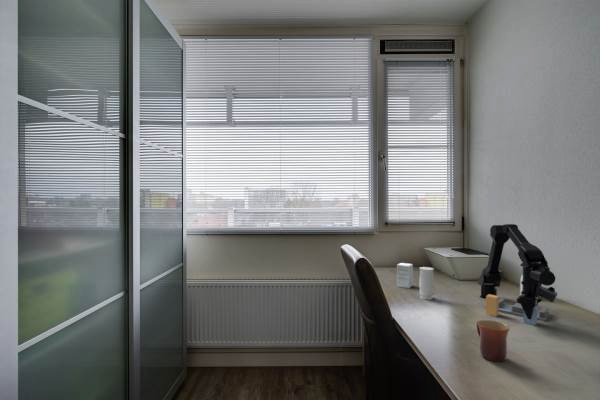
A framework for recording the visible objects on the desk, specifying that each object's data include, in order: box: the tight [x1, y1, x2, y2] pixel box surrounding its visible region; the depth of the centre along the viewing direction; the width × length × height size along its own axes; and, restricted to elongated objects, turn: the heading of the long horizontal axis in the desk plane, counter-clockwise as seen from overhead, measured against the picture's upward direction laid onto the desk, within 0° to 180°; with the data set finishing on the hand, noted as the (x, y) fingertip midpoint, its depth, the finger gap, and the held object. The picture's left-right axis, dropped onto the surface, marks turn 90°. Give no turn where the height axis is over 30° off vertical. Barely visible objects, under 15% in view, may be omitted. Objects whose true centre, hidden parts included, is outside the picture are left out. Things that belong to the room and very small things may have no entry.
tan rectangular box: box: [485, 294, 500, 317], centre depth 147 cm, size 4×4×8 cm
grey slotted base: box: [499, 298, 551, 322], centre depth 150 cm, size 20×12×3 cm, turn 45°
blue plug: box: [523, 303, 539, 326], centre depth 137 cm, size 4×4×8 cm
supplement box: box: [396, 262, 414, 289], centre depth 194 cm, size 7×7×13 cm
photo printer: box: [519, 274, 523, 296], centre depth 174 cm, size 10×4×12 cm, turn 123°
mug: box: [476, 319, 510, 362], centre depth 108 cm, size 12×9×10 cm
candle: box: [418, 266, 435, 301], centre depth 171 cm, size 7×7×15 cm
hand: (530, 317), depth 137 cm, fingers closed on blue plug, 4 cm apart
